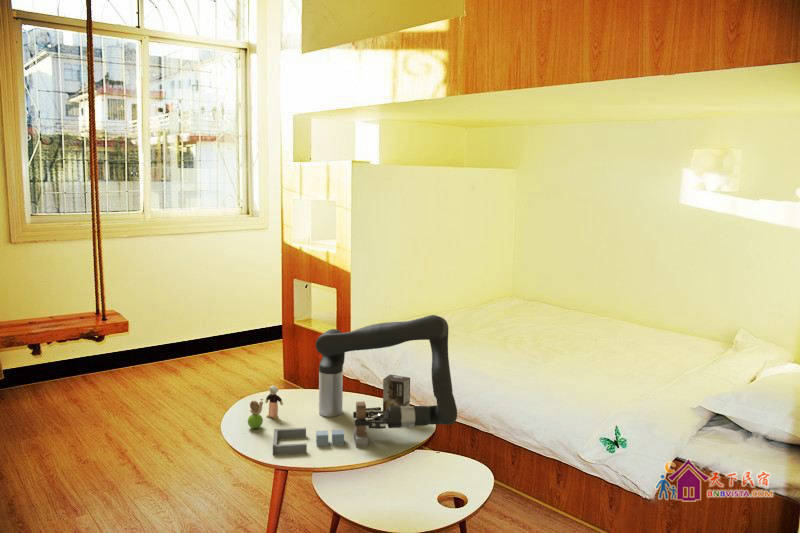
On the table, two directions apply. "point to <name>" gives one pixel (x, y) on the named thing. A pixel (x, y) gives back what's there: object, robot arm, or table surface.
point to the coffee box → (396, 391)
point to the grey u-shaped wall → (289, 447)
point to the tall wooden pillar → (360, 431)
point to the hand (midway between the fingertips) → (354, 418)
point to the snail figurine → (255, 414)
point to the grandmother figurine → (273, 402)
